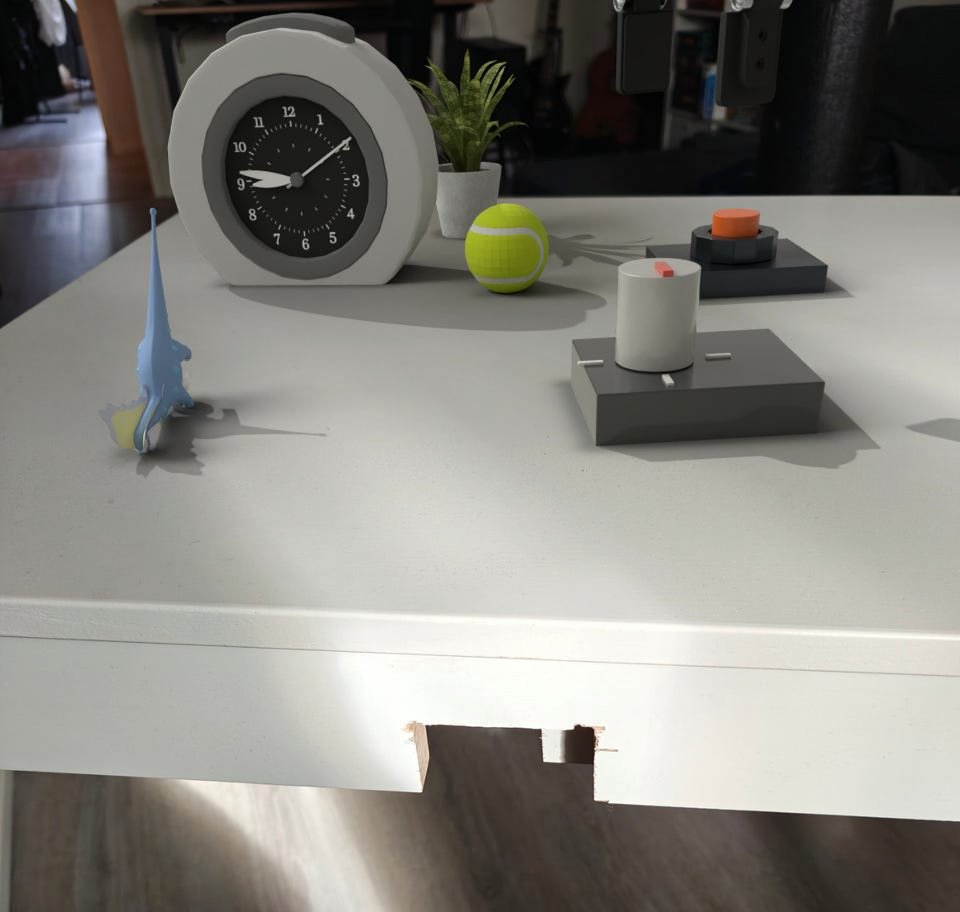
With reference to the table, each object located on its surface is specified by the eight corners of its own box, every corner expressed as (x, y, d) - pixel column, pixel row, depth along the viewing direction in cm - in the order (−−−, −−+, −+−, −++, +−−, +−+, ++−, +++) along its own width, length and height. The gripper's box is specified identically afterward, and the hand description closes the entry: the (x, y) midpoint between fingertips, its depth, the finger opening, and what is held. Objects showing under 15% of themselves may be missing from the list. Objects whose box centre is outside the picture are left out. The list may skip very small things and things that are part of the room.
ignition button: (750, 230, 82) (752, 207, 81) (763, 239, 79) (766, 215, 78) (706, 233, 82) (708, 209, 81) (717, 242, 79) (719, 218, 78)
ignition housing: (784, 265, 87) (790, 215, 85) (824, 294, 78) (831, 240, 76) (644, 272, 87) (647, 222, 84) (669, 303, 78) (673, 248, 76)
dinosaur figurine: (158, 475, 63) (99, 447, 54) (148, 233, 63) (87, 161, 53) (205, 473, 63) (154, 445, 54) (195, 231, 63) (142, 159, 53)
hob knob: (608, 350, 59) (611, 254, 56) (684, 346, 59) (690, 250, 56) (622, 374, 55) (626, 273, 52) (703, 369, 55) (711, 268, 52)
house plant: (441, 215, 112) (432, 43, 103) (558, 221, 106) (558, 40, 98) (374, 242, 101) (357, 53, 92) (500, 250, 96) (495, 50, 87)
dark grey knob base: (763, 376, 63) (769, 325, 61) (817, 436, 55) (826, 378, 53) (566, 387, 63) (566, 336, 61) (590, 449, 54) (591, 391, 53)
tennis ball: (485, 307, 79) (482, 215, 76) (454, 288, 85) (450, 201, 81) (562, 295, 81) (563, 205, 78) (528, 278, 87) (527, 193, 83)
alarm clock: (189, 287, 88) (138, 20, 78) (219, 267, 95) (176, 17, 84) (430, 286, 85) (412, 8, 75) (444, 265, 92) (430, 6, 81)
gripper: (924, -390, 40) (856, 104, 49) (681, -288, 53) (663, 83, 63) (764, -404, 37) (724, 117, 47) (552, -294, 51) (554, 93, 60)
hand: (689, 97), depth 55 cm, fingers open, 9 cm apart
